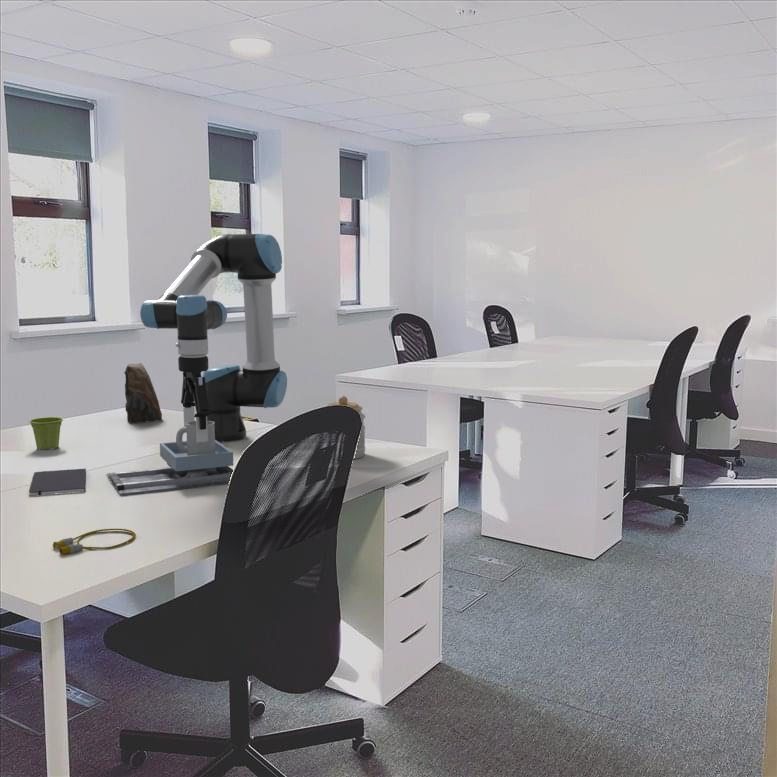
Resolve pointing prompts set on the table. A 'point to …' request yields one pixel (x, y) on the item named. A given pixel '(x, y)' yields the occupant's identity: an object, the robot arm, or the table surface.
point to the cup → (192, 444)
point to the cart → (195, 458)
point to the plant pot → (46, 432)
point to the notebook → (58, 482)
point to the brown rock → (140, 395)
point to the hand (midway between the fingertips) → (195, 436)
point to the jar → (361, 442)
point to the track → (166, 480)
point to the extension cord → (70, 549)
